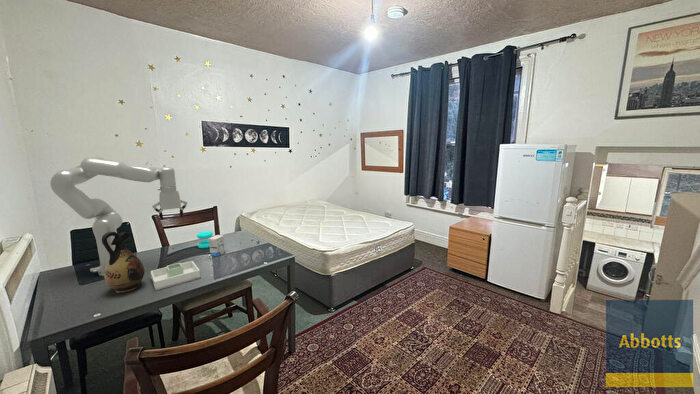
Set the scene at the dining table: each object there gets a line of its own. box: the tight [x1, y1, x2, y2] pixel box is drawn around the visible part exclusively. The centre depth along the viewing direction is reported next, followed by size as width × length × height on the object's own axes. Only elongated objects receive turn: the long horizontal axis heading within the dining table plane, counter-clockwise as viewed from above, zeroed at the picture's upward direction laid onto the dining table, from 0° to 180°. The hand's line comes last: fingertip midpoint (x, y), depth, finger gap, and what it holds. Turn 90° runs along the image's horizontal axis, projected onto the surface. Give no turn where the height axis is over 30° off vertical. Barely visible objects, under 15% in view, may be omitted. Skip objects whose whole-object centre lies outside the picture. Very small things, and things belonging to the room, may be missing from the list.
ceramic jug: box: [102, 231, 145, 294], centre depth 135 cm, size 17×15×30 cm
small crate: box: [165, 262, 184, 278], centre depth 148 cm, size 6×6×6 cm
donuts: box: [196, 230, 214, 249], centre depth 194 cm, size 10×10×10 cm
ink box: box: [208, 234, 226, 258], centre depth 181 cm, size 9×5×12 cm, turn 168°
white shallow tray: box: [149, 260, 201, 291], centre depth 148 cm, size 20×16×4 cm
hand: (171, 217), depth 164 cm, fingers open, 9 cm apart
